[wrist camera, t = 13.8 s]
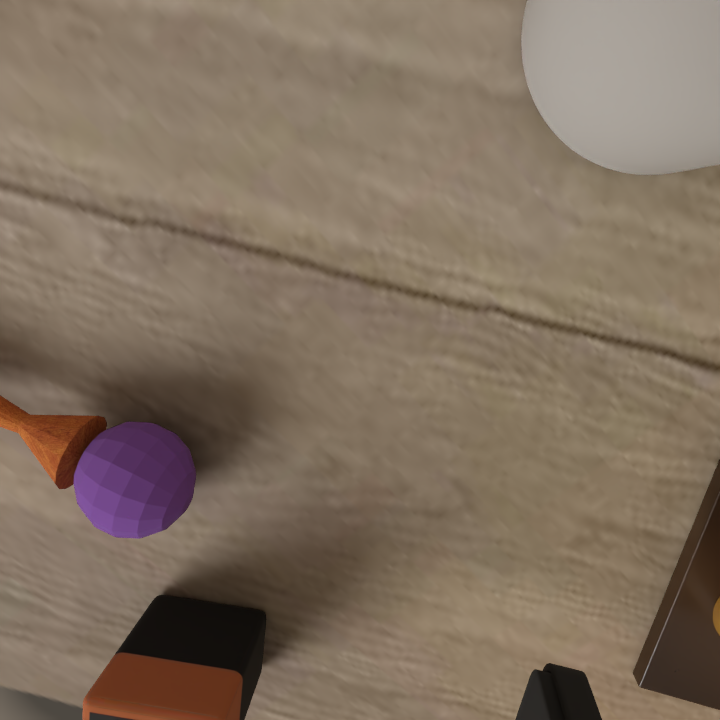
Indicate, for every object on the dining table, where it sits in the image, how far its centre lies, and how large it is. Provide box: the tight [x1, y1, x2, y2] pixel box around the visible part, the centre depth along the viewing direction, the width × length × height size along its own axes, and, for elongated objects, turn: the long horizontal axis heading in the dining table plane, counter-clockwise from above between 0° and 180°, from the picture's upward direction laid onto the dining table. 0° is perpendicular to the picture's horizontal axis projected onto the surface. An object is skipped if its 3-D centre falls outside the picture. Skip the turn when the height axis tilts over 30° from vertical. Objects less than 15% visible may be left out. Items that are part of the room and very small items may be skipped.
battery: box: [83, 595, 266, 720], centre depth 35 cm, size 4×7×10 cm, turn 83°
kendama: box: [0, 396, 196, 538], centre depth 35 cm, size 6×6×20 cm
